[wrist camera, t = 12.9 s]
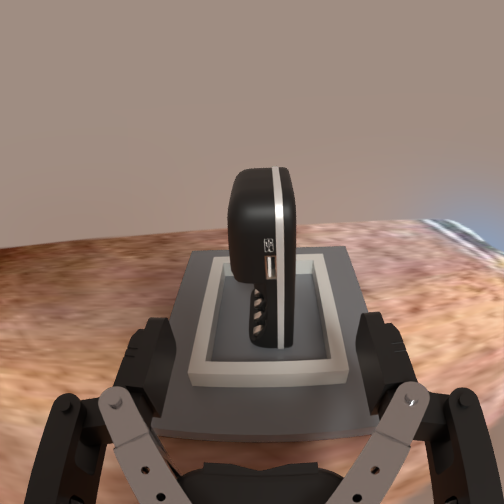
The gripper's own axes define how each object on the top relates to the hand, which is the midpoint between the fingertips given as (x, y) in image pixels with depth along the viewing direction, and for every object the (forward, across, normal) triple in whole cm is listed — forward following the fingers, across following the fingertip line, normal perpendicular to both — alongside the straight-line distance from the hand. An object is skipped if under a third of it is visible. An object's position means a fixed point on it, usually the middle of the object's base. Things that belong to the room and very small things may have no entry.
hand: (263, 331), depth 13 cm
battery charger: (+9, 0, +8) cm, 12 cm away
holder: (+9, 0, +9) cm, 13 cm away
